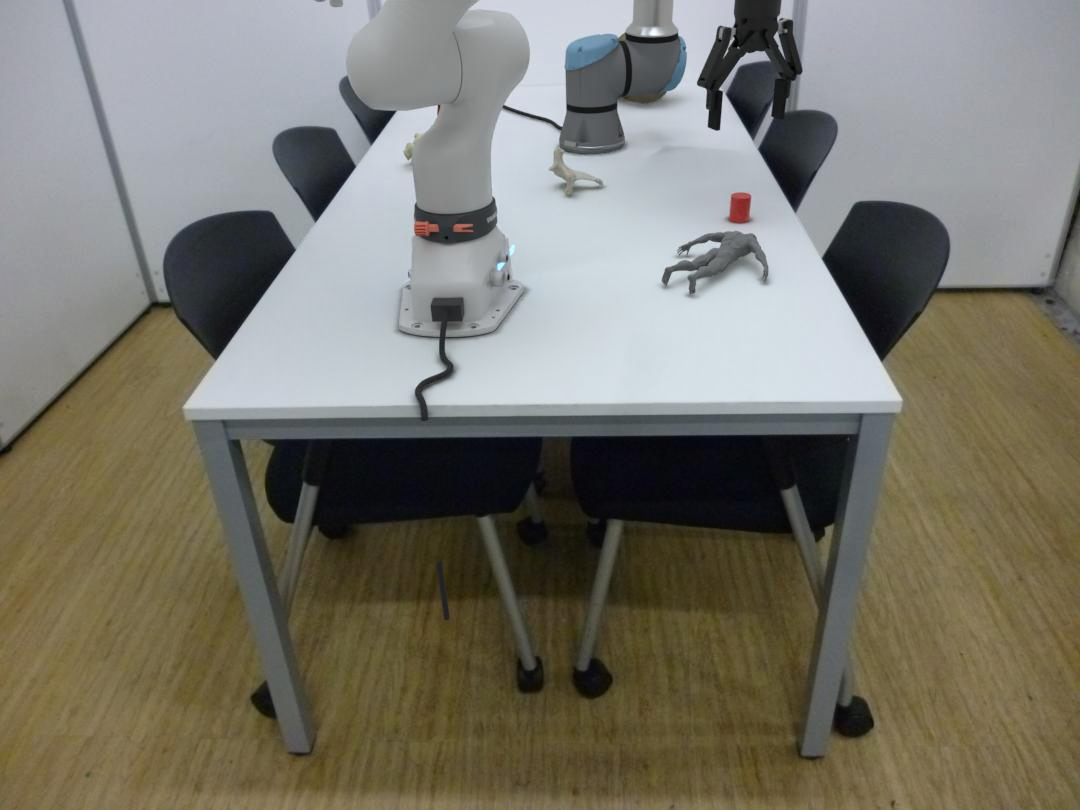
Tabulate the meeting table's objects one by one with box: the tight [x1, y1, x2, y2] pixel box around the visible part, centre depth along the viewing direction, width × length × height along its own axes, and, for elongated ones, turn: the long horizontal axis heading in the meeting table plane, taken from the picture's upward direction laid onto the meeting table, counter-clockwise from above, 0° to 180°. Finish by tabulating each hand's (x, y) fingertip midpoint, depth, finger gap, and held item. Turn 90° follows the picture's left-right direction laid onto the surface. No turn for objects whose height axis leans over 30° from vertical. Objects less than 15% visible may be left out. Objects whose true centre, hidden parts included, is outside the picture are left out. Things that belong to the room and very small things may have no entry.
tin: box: [728, 191, 752, 224], centre depth 149 cm, size 4×4×4 cm
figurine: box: [661, 230, 769, 295], centre depth 130 cm, size 17×4×20 cm
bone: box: [547, 147, 604, 196], centre depth 167 cm, size 10×6×10 cm
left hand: (328, 4), depth 139 cm, fingers open, 8 cm apart
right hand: (746, 123), depth 148 cm, fingers open, 13 cm apart
